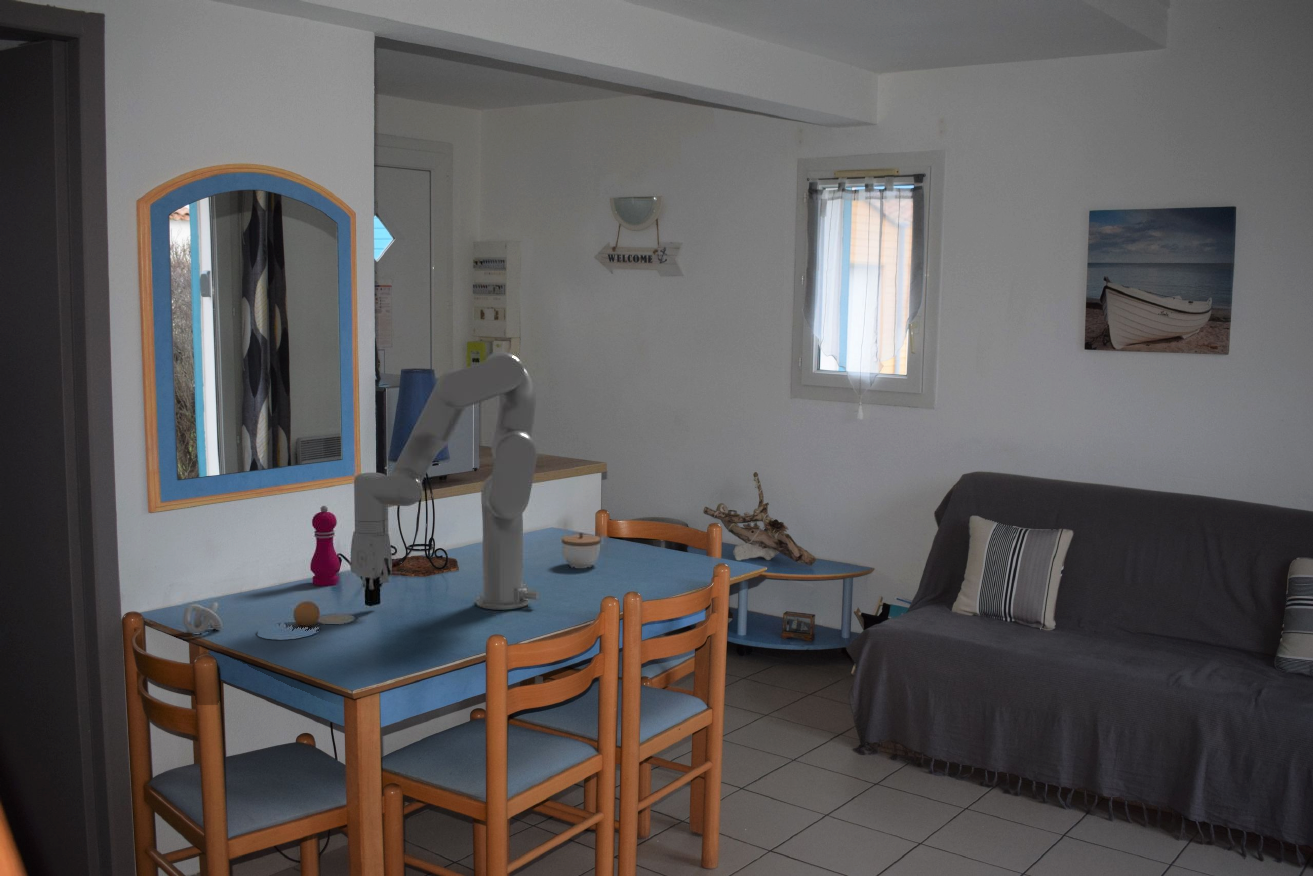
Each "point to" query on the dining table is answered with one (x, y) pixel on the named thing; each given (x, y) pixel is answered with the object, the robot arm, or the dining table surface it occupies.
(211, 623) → the knot
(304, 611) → the ball
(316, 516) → the pepper mill
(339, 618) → the plain round gray disc
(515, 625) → the dining table surface
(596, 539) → the lidded jar
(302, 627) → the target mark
